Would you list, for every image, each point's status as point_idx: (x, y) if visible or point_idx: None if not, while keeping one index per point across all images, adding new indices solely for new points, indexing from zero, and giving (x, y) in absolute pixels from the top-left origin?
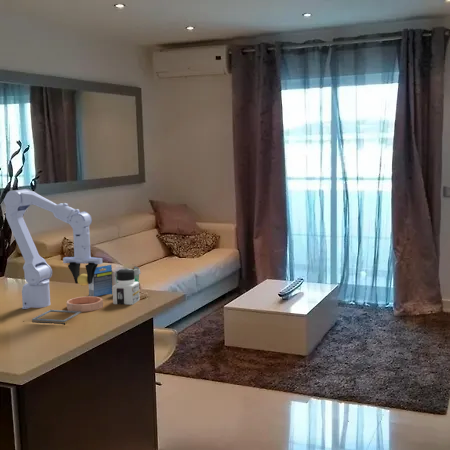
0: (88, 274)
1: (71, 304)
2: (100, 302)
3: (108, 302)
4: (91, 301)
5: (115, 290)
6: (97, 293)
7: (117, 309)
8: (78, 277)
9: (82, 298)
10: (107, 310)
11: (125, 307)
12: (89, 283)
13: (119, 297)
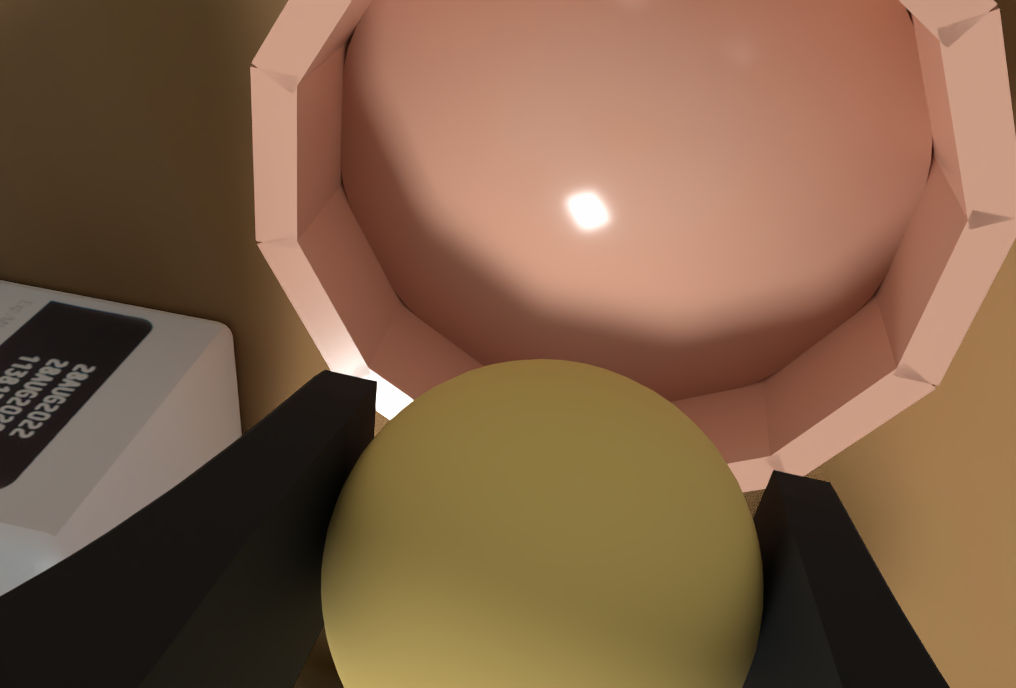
0: (142, 579)
1: None
2: (260, 134)
3: None
4: None
5: (48, 469)
6: None
7: (72, 122)
8: (691, 592)
9: (718, 450)
10: (198, 64)
11: (21, 231)
12: (319, 379)
13: (55, 376)
